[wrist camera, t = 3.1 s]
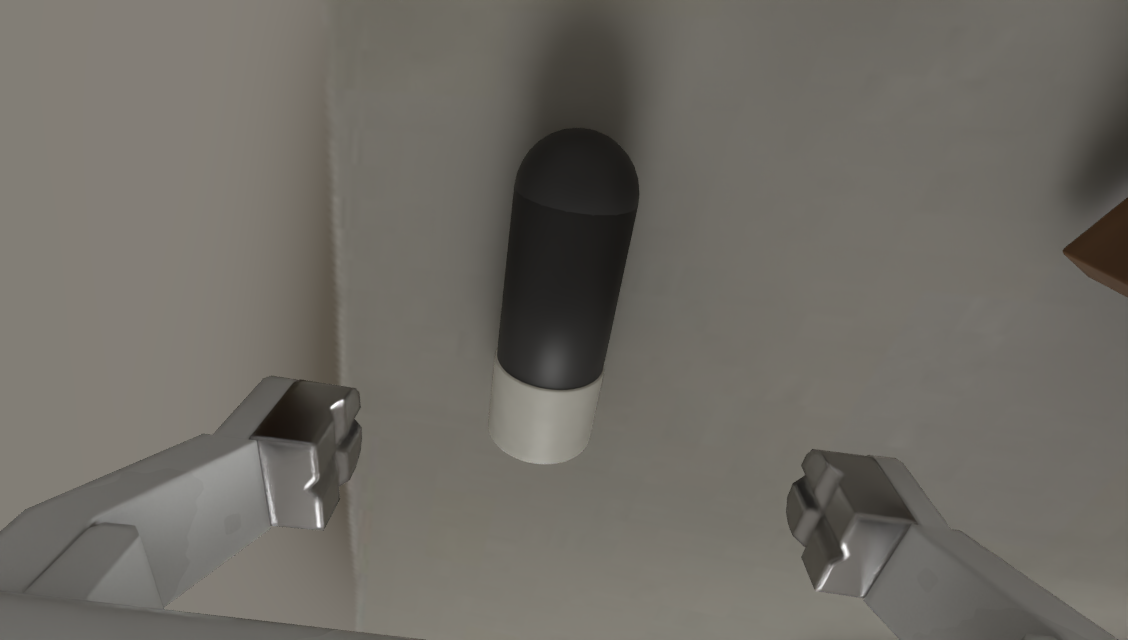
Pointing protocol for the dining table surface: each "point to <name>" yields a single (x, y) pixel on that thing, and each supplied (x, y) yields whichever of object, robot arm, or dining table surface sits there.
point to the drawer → (1104, 250)
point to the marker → (560, 292)
